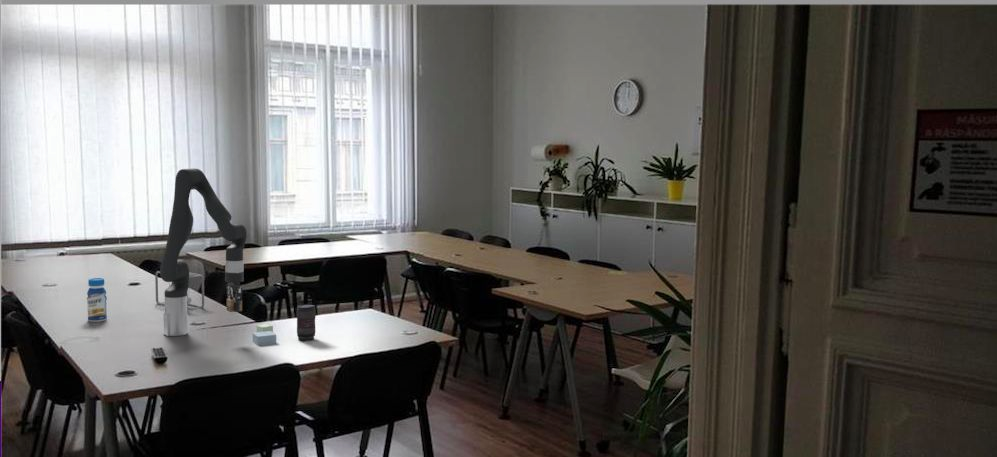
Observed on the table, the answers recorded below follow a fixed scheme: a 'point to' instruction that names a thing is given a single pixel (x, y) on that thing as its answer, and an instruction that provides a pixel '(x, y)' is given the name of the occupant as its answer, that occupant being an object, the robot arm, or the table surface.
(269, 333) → the slate base block
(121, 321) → the table surface
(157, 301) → the newton's cradle
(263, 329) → the sage cube
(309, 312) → the camera lens
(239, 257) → the robot arm
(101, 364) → the table surface
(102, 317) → the beverage bottle
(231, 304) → the walnut cube
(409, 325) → the table surface
